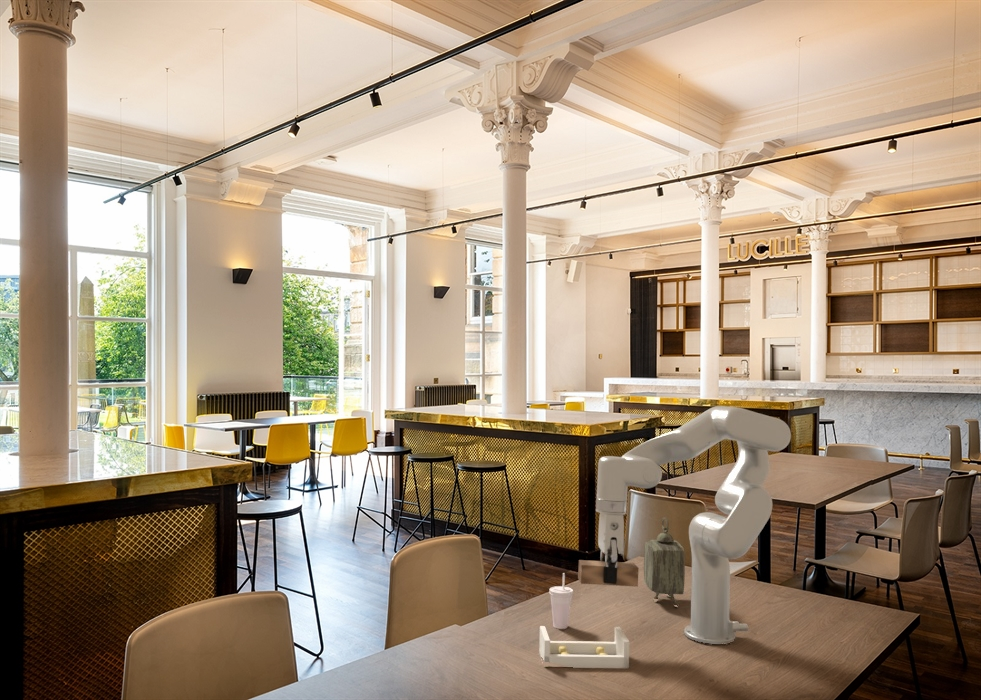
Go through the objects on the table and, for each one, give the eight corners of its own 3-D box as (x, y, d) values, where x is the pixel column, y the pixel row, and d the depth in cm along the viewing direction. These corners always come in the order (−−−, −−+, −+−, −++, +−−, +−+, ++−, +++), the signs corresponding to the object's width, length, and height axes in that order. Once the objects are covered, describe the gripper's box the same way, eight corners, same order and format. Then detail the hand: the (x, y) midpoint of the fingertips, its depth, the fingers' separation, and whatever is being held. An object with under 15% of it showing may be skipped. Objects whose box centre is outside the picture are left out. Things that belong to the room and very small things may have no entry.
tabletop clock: (684, 610, 203) (685, 523, 204) (652, 609, 203) (654, 522, 204) (671, 595, 217) (673, 513, 218) (642, 594, 217) (644, 512, 218)
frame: (619, 652, 170) (619, 627, 170) (628, 668, 160) (629, 641, 161) (539, 651, 169) (539, 626, 169) (544, 667, 159) (544, 640, 160)
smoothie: (571, 631, 183) (572, 577, 183) (546, 629, 184) (548, 575, 185) (573, 623, 189) (574, 570, 190) (549, 621, 190) (551, 568, 191)
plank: (633, 580, 178) (634, 562, 178) (637, 586, 173) (638, 568, 173) (578, 578, 178) (578, 560, 178) (580, 583, 173) (581, 565, 173)
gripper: (633, 513, 168) (629, 590, 167) (619, 501, 185) (615, 571, 184) (602, 511, 167) (598, 589, 167) (590, 499, 185) (587, 570, 184)
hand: (607, 579), depth 175 cm, fingers closed on plank, 5 cm apart
